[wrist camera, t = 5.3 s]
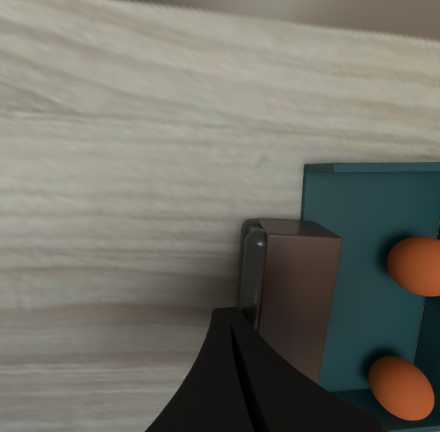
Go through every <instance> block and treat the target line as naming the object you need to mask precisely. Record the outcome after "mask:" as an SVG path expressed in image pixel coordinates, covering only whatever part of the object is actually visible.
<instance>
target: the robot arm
mask: <svg viewBox="0 0 440 432" xmlns="http://www.w3.org/2000/svg"><path fill="white" fill-rule="evenodd" d="M145 432H389V431H388V430H387V429H386V428H385V426H384V425H383V424H382V423H381V421H380V420H379V419H378V418H376V417H374V416H372V415H370V414H369V413H367V412H365V411H363V410H361V409H359V408H357V407H355V406H353V405H351V404H349V403H348V402H346V401H344V400H342V399H341V398H339V397H337V396H336V395H334V394H332V393H331V392H329V391H327V390H326V389H324V388H323V387H321V386H320V385H318V384H317V383H315V382H314V381H312V380H311V379H309V378H308V377H307V376H305V375H304V374H303V373H301V372H300V371H298V370H297V369H296V368H295V367H293V366H292V365H291V364H290V363H289V362H287V361H286V360H285V359H284V358H283V357H282V356H280V355H279V354H278V353H277V352H276V351H275V350H274V349H273V348H272V347H271V346H270V345H269V344H268V343H267V342H266V341H265V340H264V339H263V337H262V336H261V335H260V334H259V333H258V332H257V331H256V329H255V328H254V327H253V326H252V325H251V323H250V322H249V321H248V319H247V318H246V317H245V315H244V314H243V313H242V311H241V310H240V309H239V308H238V307H230V308H214V309H213V310H212V318H211V323H210V326H209V329H208V332H207V335H206V338H205V341H204V343H203V345H202V348H201V350H200V352H199V354H198V356H197V359H196V361H195V362H194V364H193V366H192V368H191V370H190V372H189V373H188V375H187V376H186V378H185V380H184V381H183V383H182V384H181V386H180V388H179V389H178V391H177V392H176V393H175V395H174V396H173V397H172V399H171V400H170V401H169V403H168V404H167V405H166V407H165V408H164V409H163V411H162V412H161V413H160V415H159V416H158V417H157V418H156V419H155V421H154V422H153V423H152V424H151V425H150V426H149V427H148V428H147V430H146V431H145Z"/></svg>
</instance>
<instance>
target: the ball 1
mask: <svg viewBox="0 0 440 432" xmlns="http://www.w3.org/2000/svg"><path fill="white" fill-rule="evenodd" d="M387 267H388V271H389V273H390V275H391V277H392V278H393V279H394V281H395V282H396V283H397V284H398V285H400V286H401V287H402V288H404V289H406V290H407V291H409V292H412V293H414V294H417V295H422V296H440V240H438V239H435V238H431V237H422V236H419V237H411V238H407V239H404V240H402V241H400V242H398V243H397V244H396V245H395V246H394V247H393V248H392V249H391V250H390V252H389V254H388V258H387Z"/></svg>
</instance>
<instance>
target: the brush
mask: <svg viewBox="0 0 440 432" xmlns="http://www.w3.org/2000/svg"><path fill="white" fill-rule="evenodd" d="M342 242H343V238H342V237H340V236H338V235H337V234H335V233H333V232H332V231H330V230H328V229H327V228H325V227H323V226H321V225H320V224H318V223H316V222H313V221H295V220H278V219H260V218H258V219H257V220H250V221H247V222H246V223H245V224H244V225H243V227H242V233H241V246H240V258H239V271H238V284H237V297H236V307H238V308H239V309H240V310H241V311H242V313H243V314H244V315H245V317H246V318H247V319H248V321H249V322H250V323H251V325H252V326H253V327H254V328H255V329H256V331H257V332H258V333H259V334H260V335H261V336H262V337H263V339H264V340H265V341H266V342H267V343H268V344H269V345H270V346H271V347H272V348H273V349H274V350H275V351H276V352H277V353H278V354H279V355H280V356H282V357H283V358H284V359H285V360H286V361H287V362H289V363H290V364H291V365H292V366H293V367H295V368H296V369H297V370H298V371H300V372H301V373H303V374H304V375H305V376H307V377H308V378H309V379H311V380H312V381H314V382H315V383H317V384H318V381H319V375H320V370H321V364H322V358H323V352H324V346H325V341H326V335H327V329H328V323H329V317H330V311H331V306H332V300H333V294H334V288H335V282H336V277H337V271H338V265H339V259H340V253H341V247H342Z"/></svg>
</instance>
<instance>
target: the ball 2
mask: <svg viewBox="0 0 440 432" xmlns="http://www.w3.org/2000/svg"><path fill="white" fill-rule="evenodd" d="M369 384H370V388H371V390H372V392H373V394H374V396H375V398H376V399H377V400H378V402H379V403H380V404H381V405H382V406H383V407H384V408H385V409H386V410H387V411H389V412H390V413H392V414H393V415H395V416H397V417H399V418H402V419H405V420H421V419H423V418H425V417H427V416H428V415H429V414H430V413H431V411H432V409H433V406H434V393H433V389H432V387H431V385H430V383H429V381H428V379H427V378H426V376H425V375H424V374H423V373H422V372H421V371H420V370H419V369H418V368H417V367H416V366H415V365H413V364H412V363H410V362H409V361H407V360H405V359H402V358H399V357H395V356H385V357H381V358H379V359H377V360H376V361H375V362H374V363H373V364H372V365H371V367H370V370H369Z"/></svg>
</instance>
